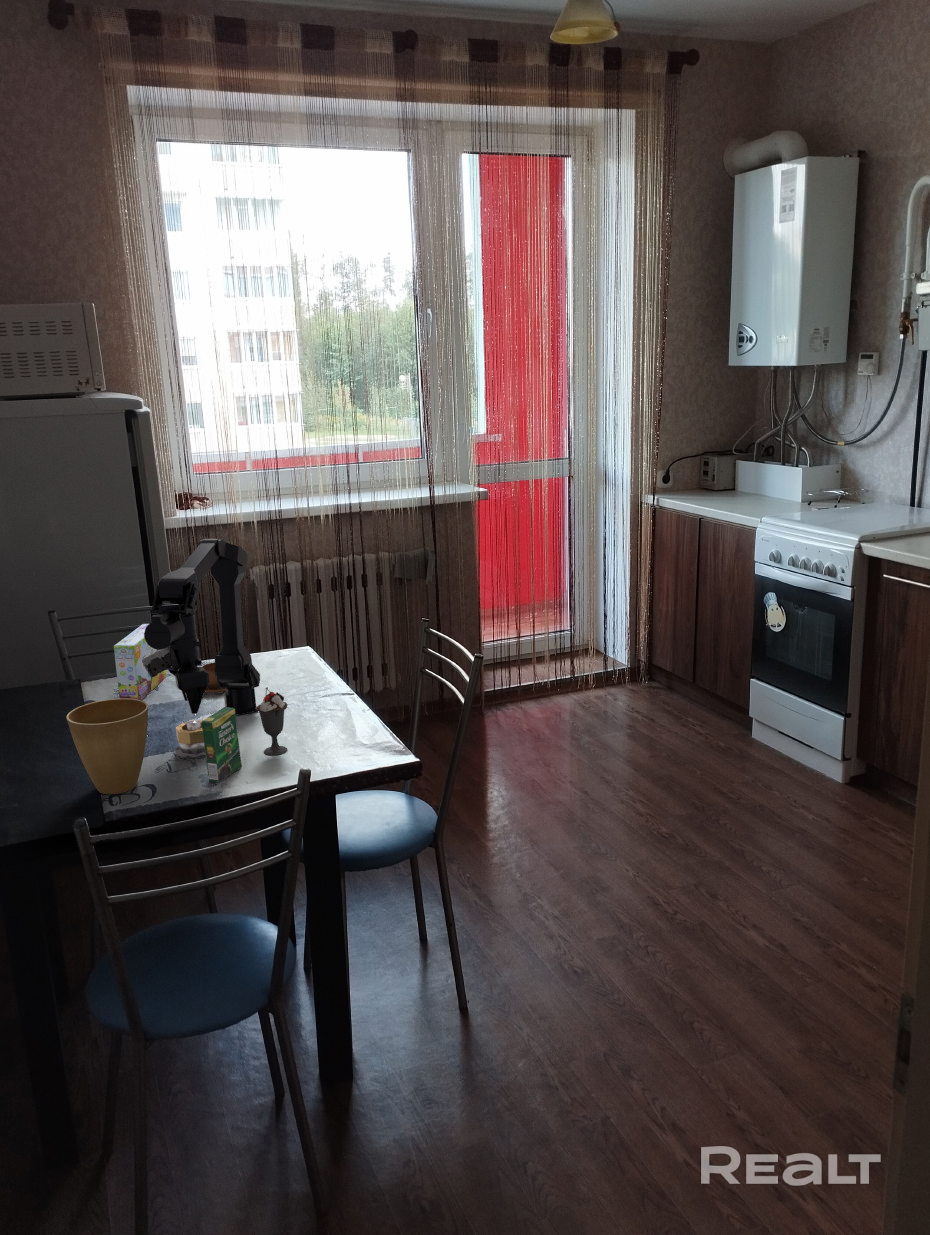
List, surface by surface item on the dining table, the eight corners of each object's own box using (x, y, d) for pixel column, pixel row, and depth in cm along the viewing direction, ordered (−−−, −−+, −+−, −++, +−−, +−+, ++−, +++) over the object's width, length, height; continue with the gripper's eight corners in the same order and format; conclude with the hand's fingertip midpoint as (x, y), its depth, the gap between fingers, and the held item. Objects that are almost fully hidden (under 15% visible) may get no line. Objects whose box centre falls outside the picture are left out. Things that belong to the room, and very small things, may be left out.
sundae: (265, 759, 200) (258, 691, 196) (256, 749, 206) (249, 682, 202) (295, 753, 203) (289, 685, 199) (286, 742, 208) (279, 677, 205)
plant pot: (147, 800, 183) (137, 721, 179) (68, 805, 182) (55, 726, 178) (165, 768, 197) (155, 695, 193) (91, 773, 196) (80, 699, 192)
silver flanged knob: (214, 739, 212) (210, 711, 210) (221, 753, 204) (218, 724, 202) (172, 747, 208) (168, 719, 207) (178, 761, 200) (174, 732, 199)
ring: (208, 729, 210) (207, 718, 209) (214, 739, 204) (213, 728, 203) (175, 735, 207) (174, 724, 206) (180, 746, 201) (179, 734, 200)
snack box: (141, 703, 237) (134, 645, 233) (119, 704, 237) (111, 645, 233) (168, 676, 258) (161, 622, 254) (147, 677, 258) (140, 622, 254)
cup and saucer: (205, 681, 252) (203, 658, 251) (249, 681, 251) (247, 659, 249) (186, 696, 241) (184, 673, 239) (232, 697, 239) (230, 673, 238)
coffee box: (219, 783, 189) (212, 721, 186) (207, 782, 190) (199, 720, 187) (242, 767, 196) (236, 707, 193) (231, 766, 197) (224, 706, 194)
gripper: (137, 631, 204) (146, 700, 208) (148, 653, 188) (157, 727, 192) (190, 623, 209) (198, 691, 213) (205, 644, 192) (213, 717, 196)
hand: (191, 706), depth 203 cm, fingers open, 9 cm apart
